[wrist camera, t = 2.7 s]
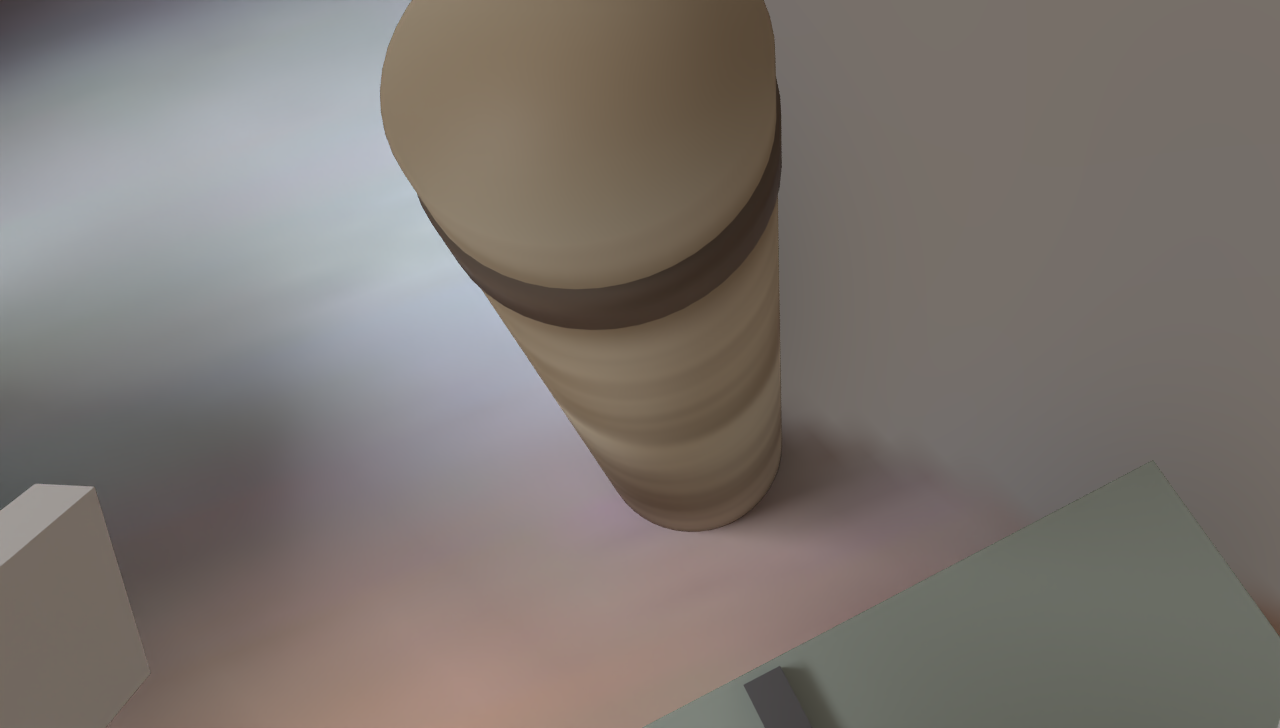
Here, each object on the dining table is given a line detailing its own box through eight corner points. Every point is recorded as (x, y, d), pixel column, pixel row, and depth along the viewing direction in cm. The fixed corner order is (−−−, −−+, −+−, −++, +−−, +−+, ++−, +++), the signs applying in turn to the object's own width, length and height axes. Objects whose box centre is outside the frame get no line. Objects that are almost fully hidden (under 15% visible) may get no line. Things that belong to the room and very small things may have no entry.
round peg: (573, 408, 24) (321, 11, 11) (730, 328, 24) (665, -156, 11) (651, 566, 23) (465, 323, 10) (818, 480, 23) (859, 126, 10)
